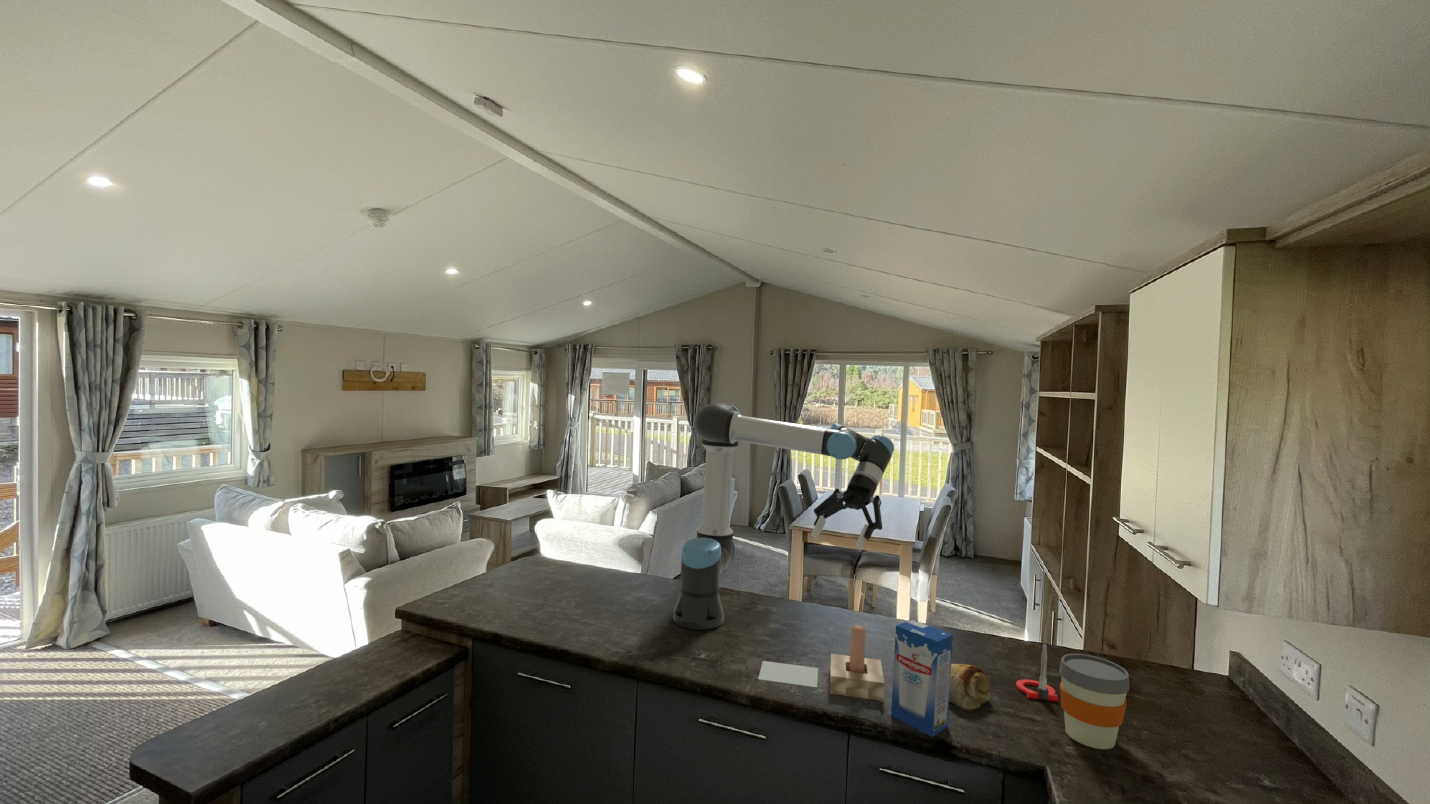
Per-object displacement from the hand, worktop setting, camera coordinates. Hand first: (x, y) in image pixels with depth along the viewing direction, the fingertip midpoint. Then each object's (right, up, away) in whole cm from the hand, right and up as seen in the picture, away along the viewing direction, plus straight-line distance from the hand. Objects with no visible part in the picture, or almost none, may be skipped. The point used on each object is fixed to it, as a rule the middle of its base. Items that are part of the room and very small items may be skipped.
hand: (835, 542), depth 163 cm
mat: (-14, -29, -14) cm, 36 cm away
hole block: (+1, -30, -18) cm, 35 cm away
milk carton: (+12, -31, -32) cm, 46 cm away
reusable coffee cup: (+47, -33, -35) cm, 67 cm away
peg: (+1, -30, -18) cm, 35 cm away
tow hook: (+45, -33, -16) cm, 58 cm away
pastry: (+26, -32, -20) cm, 45 cm away
